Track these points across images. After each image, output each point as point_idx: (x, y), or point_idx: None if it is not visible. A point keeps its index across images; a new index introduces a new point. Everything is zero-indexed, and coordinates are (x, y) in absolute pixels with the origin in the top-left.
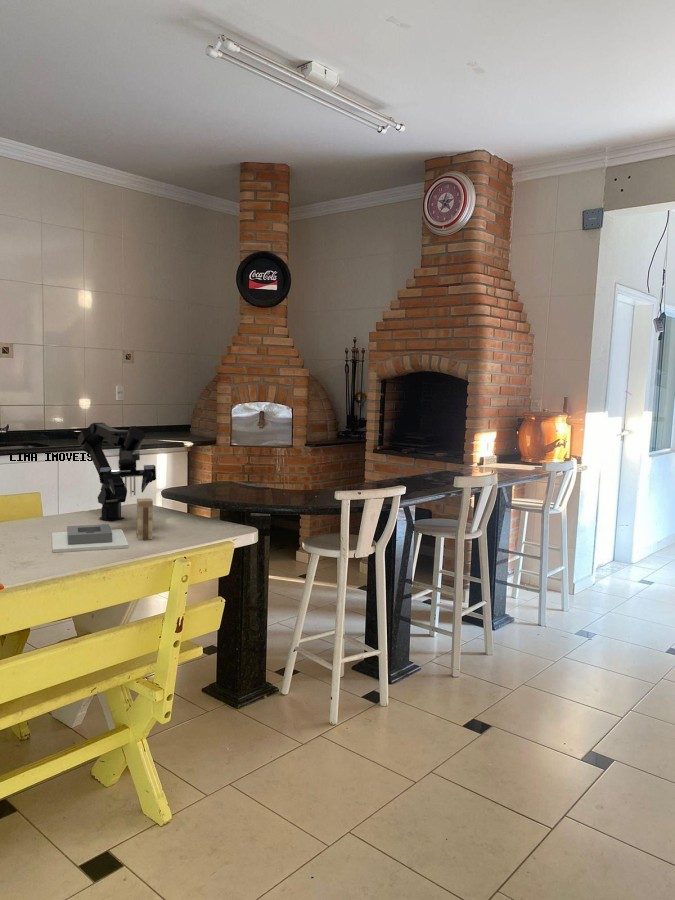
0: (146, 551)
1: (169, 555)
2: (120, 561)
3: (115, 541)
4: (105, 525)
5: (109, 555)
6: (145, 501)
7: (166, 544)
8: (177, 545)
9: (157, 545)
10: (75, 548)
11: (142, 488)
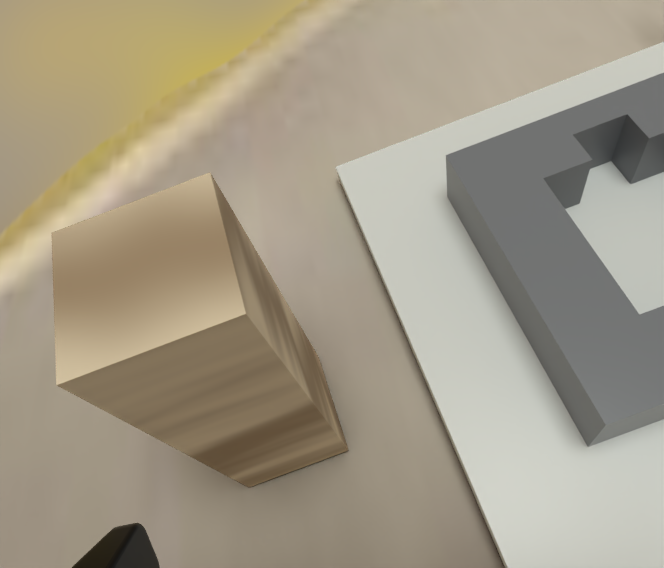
0: (241, 156)
1: (138, 123)
2: (329, 20)
3: (433, 214)
4: (609, 362)
5: (402, 72)
6: (137, 209)
7: None
8: None
9: None
10: (606, 65)
11: (97, 557)
